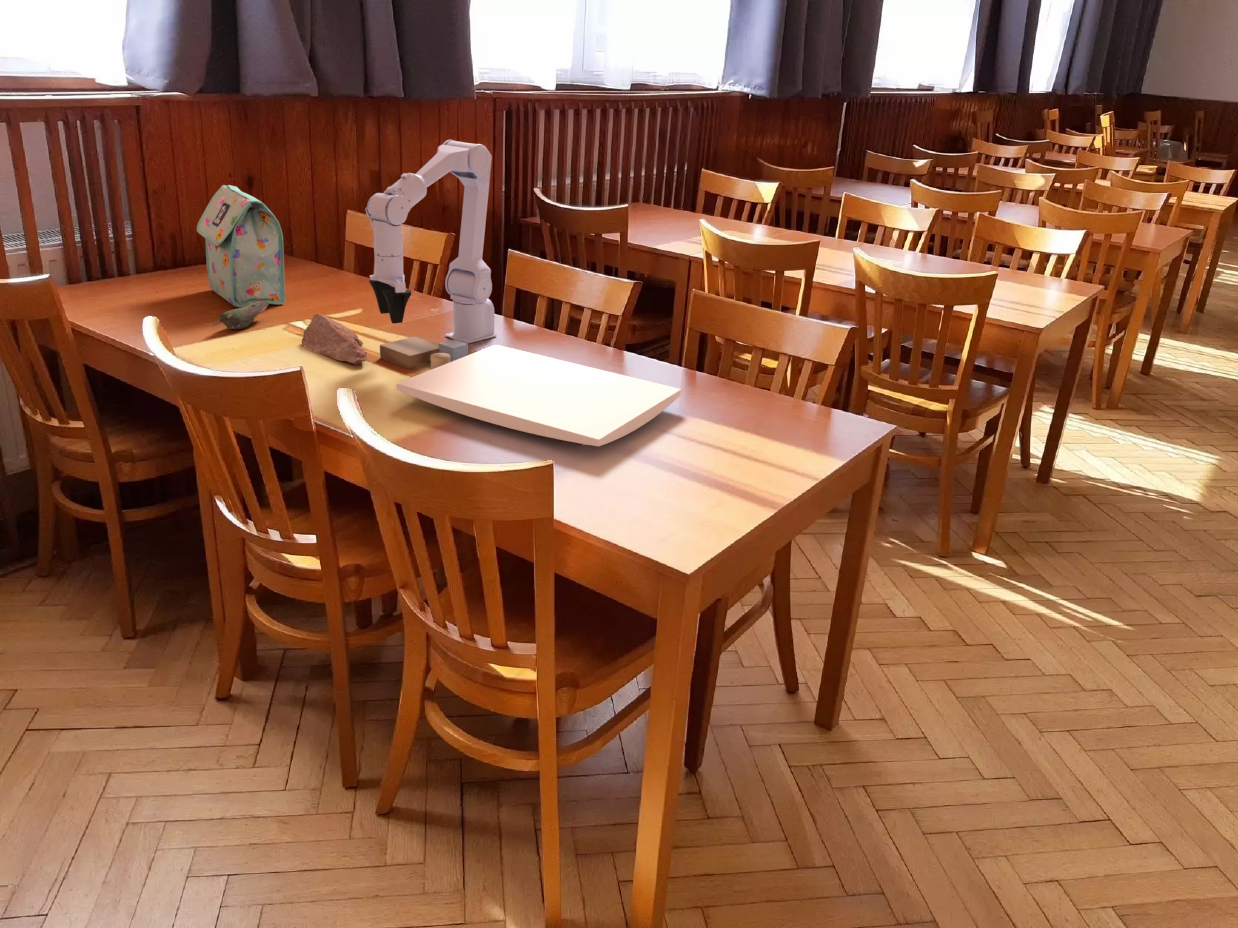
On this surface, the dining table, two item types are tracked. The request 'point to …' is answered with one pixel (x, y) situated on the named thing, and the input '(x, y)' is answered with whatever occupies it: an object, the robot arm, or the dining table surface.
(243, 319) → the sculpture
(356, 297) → the dining table surface
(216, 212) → the lunch bag
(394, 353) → the walnut base
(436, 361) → the beech cylinder
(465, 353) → the grey cube
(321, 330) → the rock
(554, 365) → the board
